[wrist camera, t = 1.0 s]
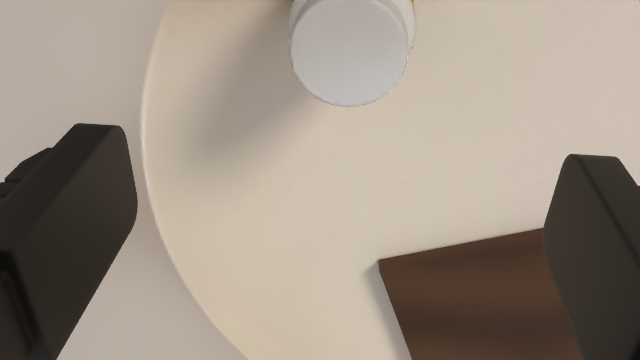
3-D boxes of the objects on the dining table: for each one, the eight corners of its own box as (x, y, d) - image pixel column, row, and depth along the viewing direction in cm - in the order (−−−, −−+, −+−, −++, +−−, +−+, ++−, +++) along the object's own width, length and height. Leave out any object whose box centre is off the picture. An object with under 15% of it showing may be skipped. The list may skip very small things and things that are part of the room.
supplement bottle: (314, -82, 24) (288, -35, 17) (421, -60, 24) (439, -5, 17) (298, 25, 27) (270, 103, 20) (394, 45, 27) (400, 129, 20)
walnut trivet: (379, 259, 35) (379, 270, 34) (586, 219, 32) (591, 230, 31) (423, 380, 41) (424, 393, 40) (600, 357, 38) (605, 369, 37)
